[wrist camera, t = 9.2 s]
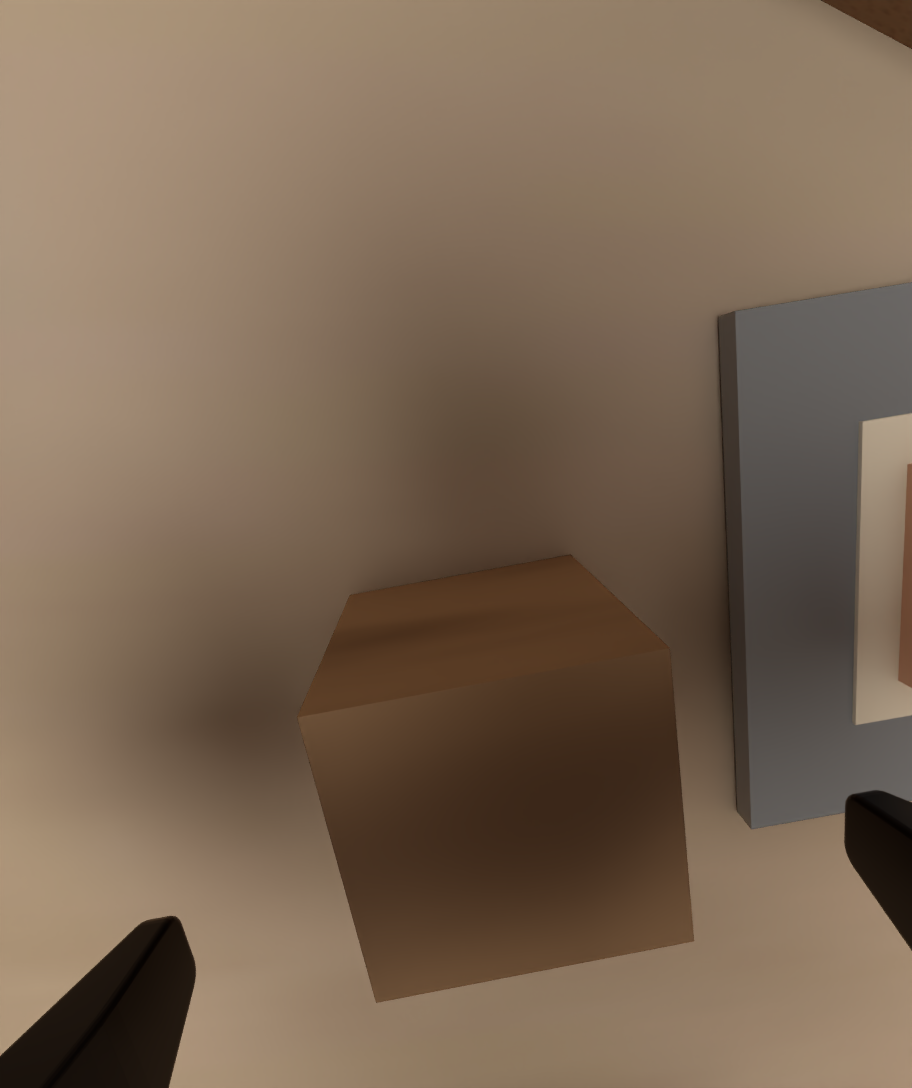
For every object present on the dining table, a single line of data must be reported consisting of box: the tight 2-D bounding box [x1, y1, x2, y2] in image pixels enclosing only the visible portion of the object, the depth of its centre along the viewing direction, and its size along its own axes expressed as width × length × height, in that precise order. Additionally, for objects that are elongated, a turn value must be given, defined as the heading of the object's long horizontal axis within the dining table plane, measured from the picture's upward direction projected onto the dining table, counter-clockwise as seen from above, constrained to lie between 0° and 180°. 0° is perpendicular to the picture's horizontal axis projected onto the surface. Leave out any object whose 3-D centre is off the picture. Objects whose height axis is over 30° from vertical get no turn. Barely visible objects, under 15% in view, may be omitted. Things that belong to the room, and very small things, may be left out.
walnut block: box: [297, 555, 694, 1003], centre depth 10 cm, size 5×5×5 cm
